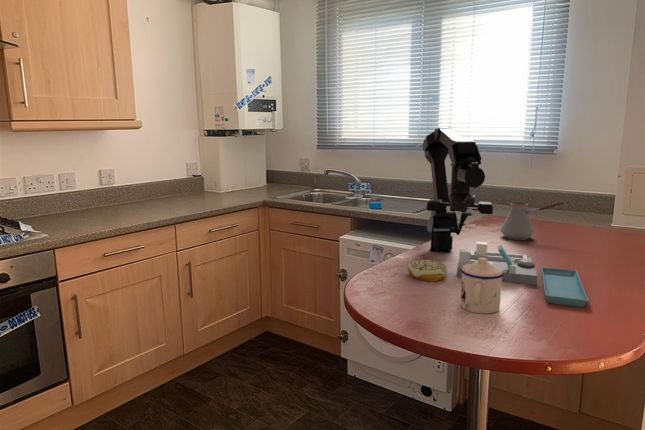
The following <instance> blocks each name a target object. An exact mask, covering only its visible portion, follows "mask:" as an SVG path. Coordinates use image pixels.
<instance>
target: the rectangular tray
mask: <svg viewBox="0 0 645 430" xmlns="http://www.w3.org/2000/svg"><path fill="white" fill-rule="evenodd" d="M540 269H541V276H542V281H543V289H544V290H543V291H544V296H545V300H546V301H547V303H549V304H555V305H563V306H569V307H570V306H571V307H579V308H583V307H585V306H586V305H587V303H588V302H589V301H590V300H589V298H588V295H587V293H586V291H585V288H584V285H583V283H582V280H581V278H580V275H579V272H578V271H577V270H574V269H573V270H572V269H563V268H555V267H554V268H553V267H541V268H540Z"/></svg>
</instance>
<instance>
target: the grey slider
mask: <svg viewBox="0 0 645 430" xmlns="http://www.w3.org/2000/svg"><path fill="white" fill-rule="evenodd" d="M471 251H472V249H462V248H461V249H459V255H458V256H459V258H458V263H462V264H470V263H471Z"/></svg>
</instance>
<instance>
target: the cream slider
mask: <svg viewBox="0 0 645 430" xmlns="http://www.w3.org/2000/svg"><path fill="white" fill-rule="evenodd" d="M475 251H476V255H487V252H488V242H486V241H476V249H475Z"/></svg>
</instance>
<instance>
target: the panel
mask: <svg viewBox="0 0 645 430" xmlns="http://www.w3.org/2000/svg"><path fill="white" fill-rule="evenodd" d="M506 253H507V254H508V256H509V257H510V259H511V260H512V261H513V262H514V265H515V266H514V265H509V266H508V265H507V263H506V262H505V260H504V259H503V257H502V256H501V254H500V253H499V252H494V251H487V255H476V250H471V263H470V264H472V263H473V262H476V261H478V259H479V258H481V257H483V258H487V262H489V263H491V264H492V265H494V266H496V267H499V268H500V269H501V270H502V271H503V276H502V282H504V283H514V284H523V285H532V286H533V285H535V286H536V285H537V278H538V274H537V272H536V268H535V267H536V264H535V263H534V261H533V260H532V258H531V257H527V254H518V253H508V252H506ZM464 265H466V264H462V263H459V262H458V263H457V274H456V277H457V278H461V279H462V272H461V269H462V267H463V266H464Z"/></svg>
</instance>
